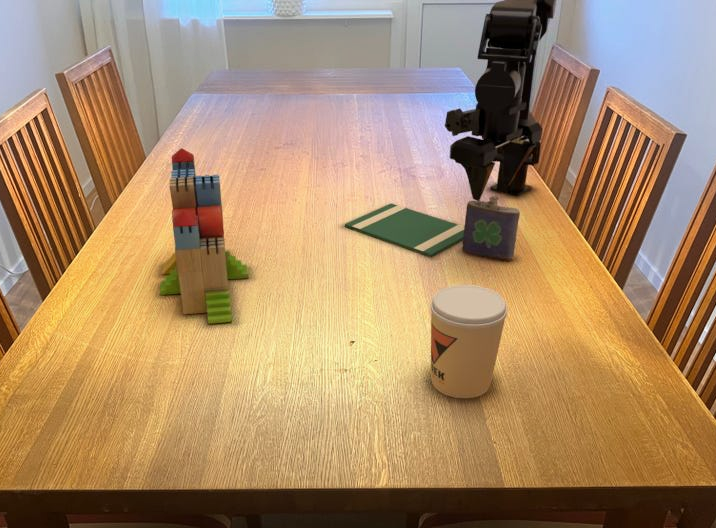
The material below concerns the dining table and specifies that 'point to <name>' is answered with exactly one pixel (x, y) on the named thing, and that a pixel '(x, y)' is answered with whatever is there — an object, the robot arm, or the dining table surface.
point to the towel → (409, 229)
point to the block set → (199, 244)
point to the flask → (490, 230)
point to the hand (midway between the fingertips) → (491, 192)
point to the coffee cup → (465, 339)
